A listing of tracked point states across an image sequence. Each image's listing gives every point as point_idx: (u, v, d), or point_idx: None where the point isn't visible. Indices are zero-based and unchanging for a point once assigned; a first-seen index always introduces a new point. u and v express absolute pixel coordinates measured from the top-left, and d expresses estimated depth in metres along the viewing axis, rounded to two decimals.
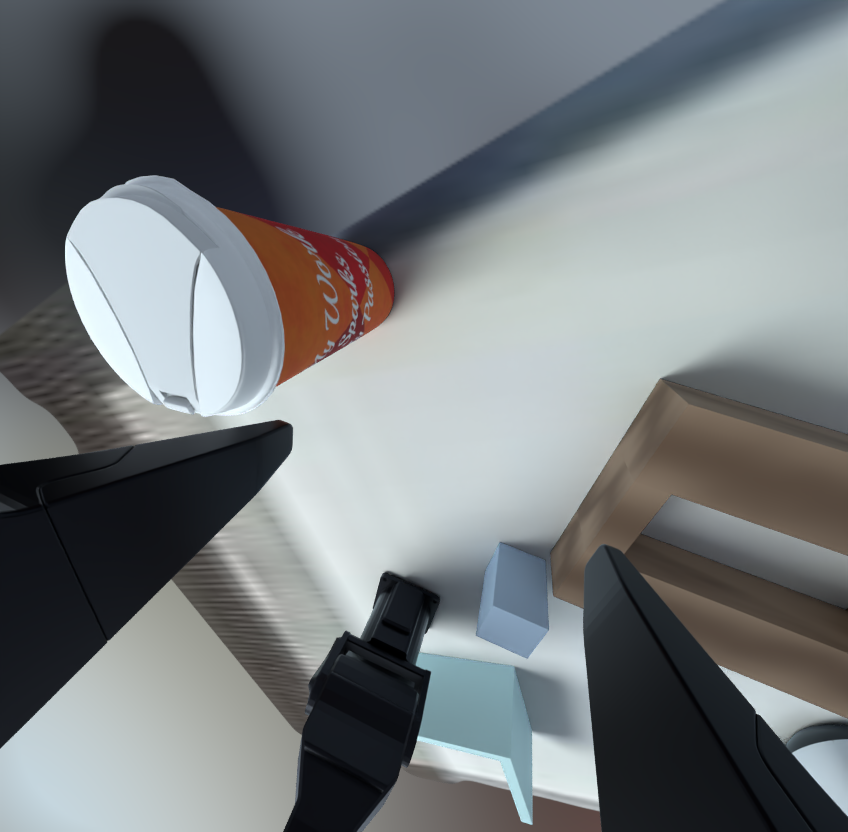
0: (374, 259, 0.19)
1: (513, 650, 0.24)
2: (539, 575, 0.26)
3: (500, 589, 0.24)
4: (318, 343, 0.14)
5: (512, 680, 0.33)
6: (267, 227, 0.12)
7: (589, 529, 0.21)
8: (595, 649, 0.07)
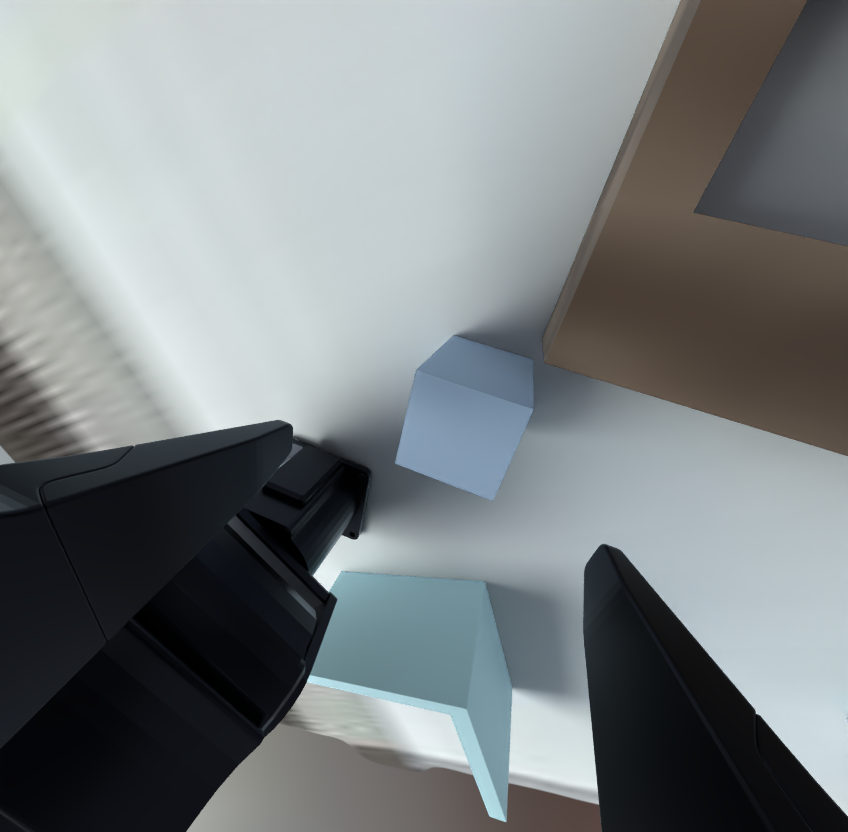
0: None
1: (465, 485, 0.12)
2: (520, 366, 0.14)
3: (439, 362, 0.12)
4: None
5: (480, 598, 0.21)
6: None
7: (625, 162, 0.09)
8: (595, 649, 0.07)
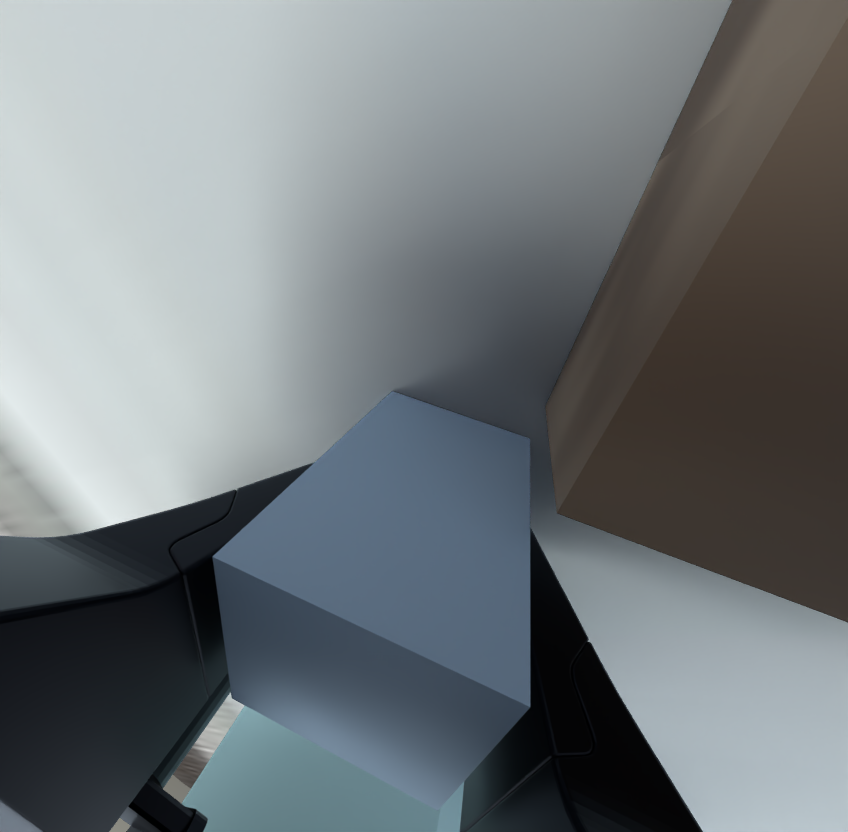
0: None
1: (377, 771, 0.05)
2: (505, 468, 0.07)
3: (313, 494, 0.05)
4: None
5: None
6: None
7: None
8: None
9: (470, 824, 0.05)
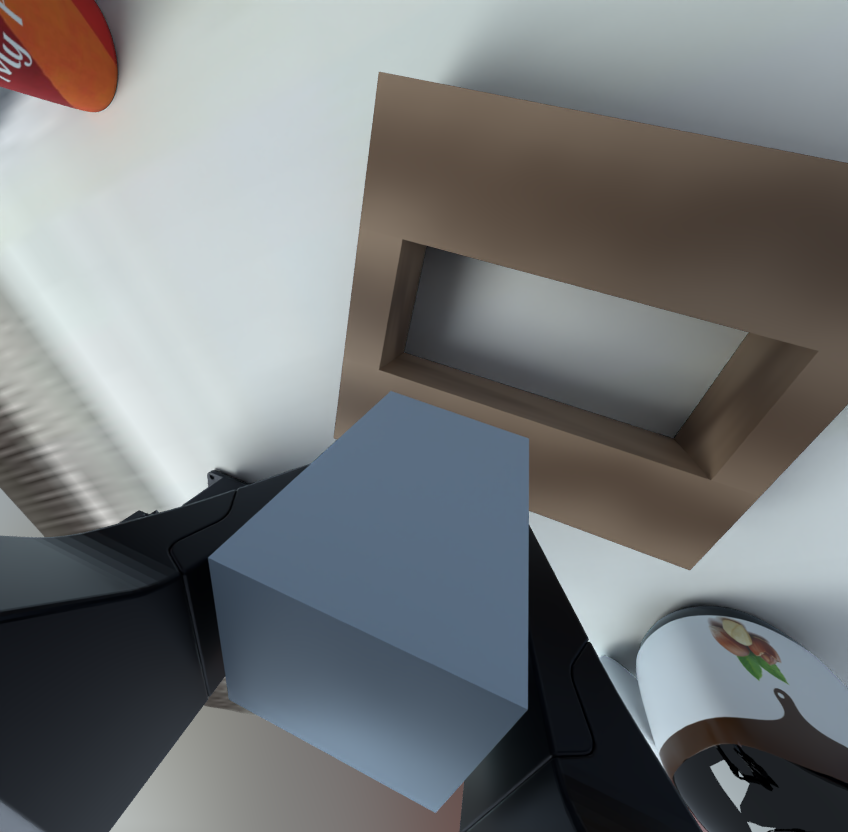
0: None
1: (374, 773, 0.05)
2: (503, 468, 0.07)
3: (311, 494, 0.05)
4: None
5: None
6: None
7: None
8: None
9: (470, 826, 0.05)
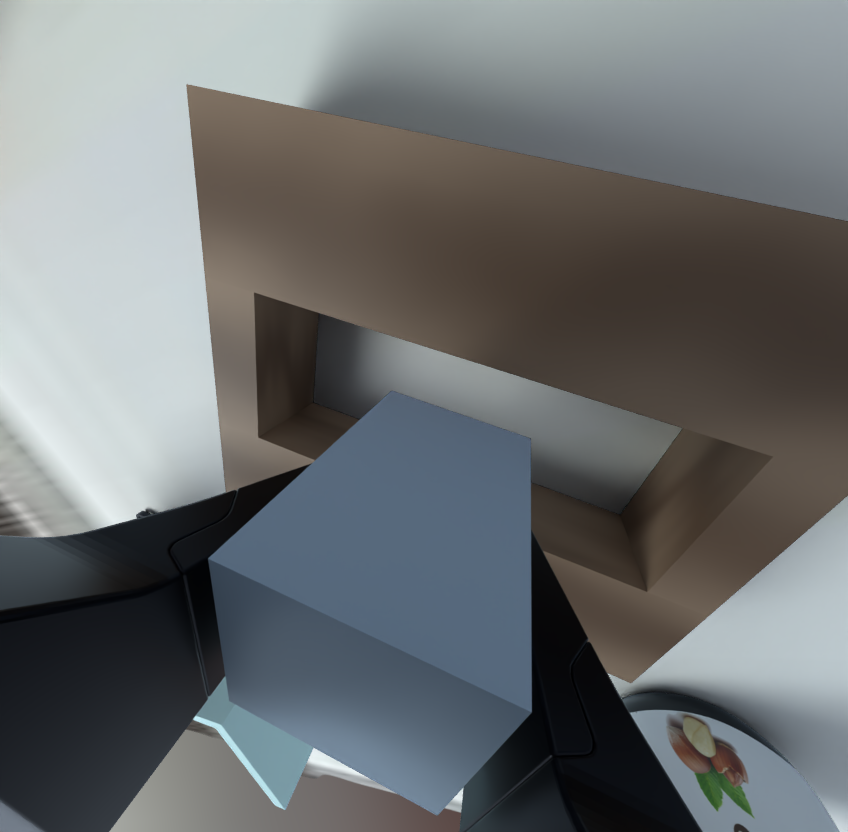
0: None
1: (375, 776, 0.05)
2: (505, 468, 0.07)
3: (312, 495, 0.05)
4: None
5: None
6: None
7: None
8: None
9: (470, 825, 0.05)
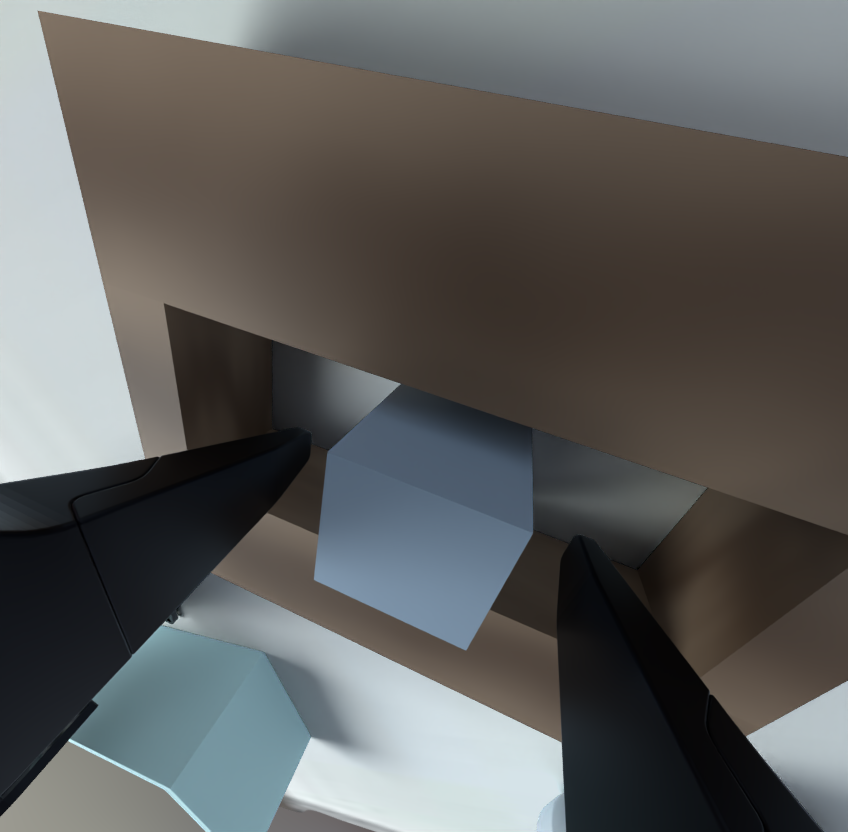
0: None
1: (422, 624, 0.08)
2: None
3: (380, 425, 0.07)
4: None
5: (249, 671, 0.23)
6: None
7: None
8: (566, 636, 0.07)
9: None
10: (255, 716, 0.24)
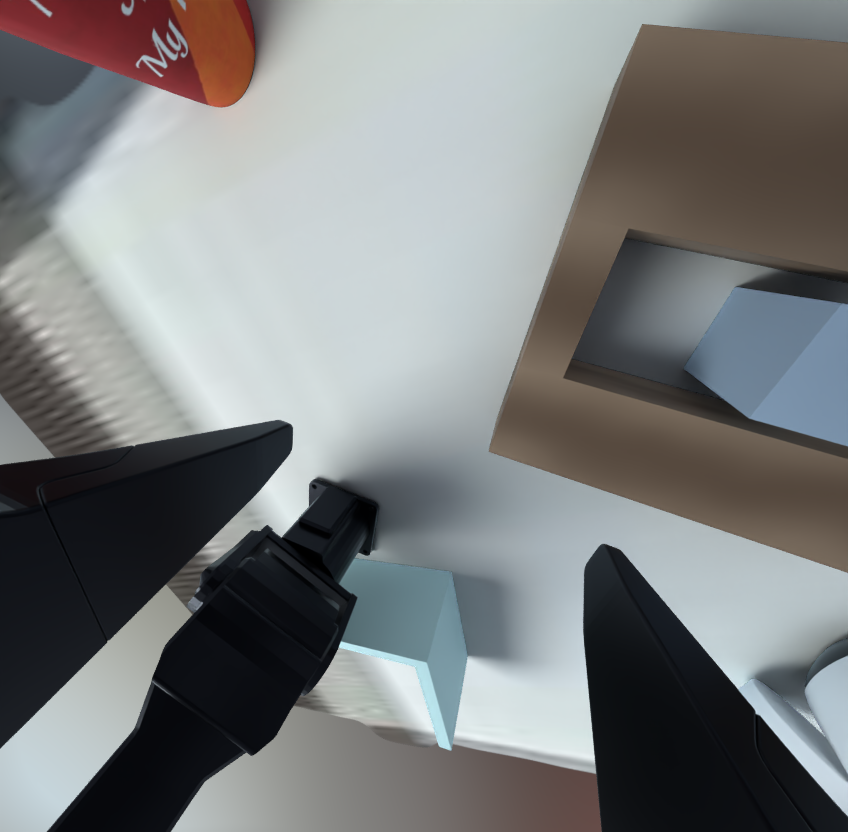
0: None
1: None
2: None
3: None
4: None
5: (446, 585, 0.27)
6: None
7: (527, 340, 0.15)
8: (595, 649, 0.07)
9: None
10: (450, 624, 0.28)
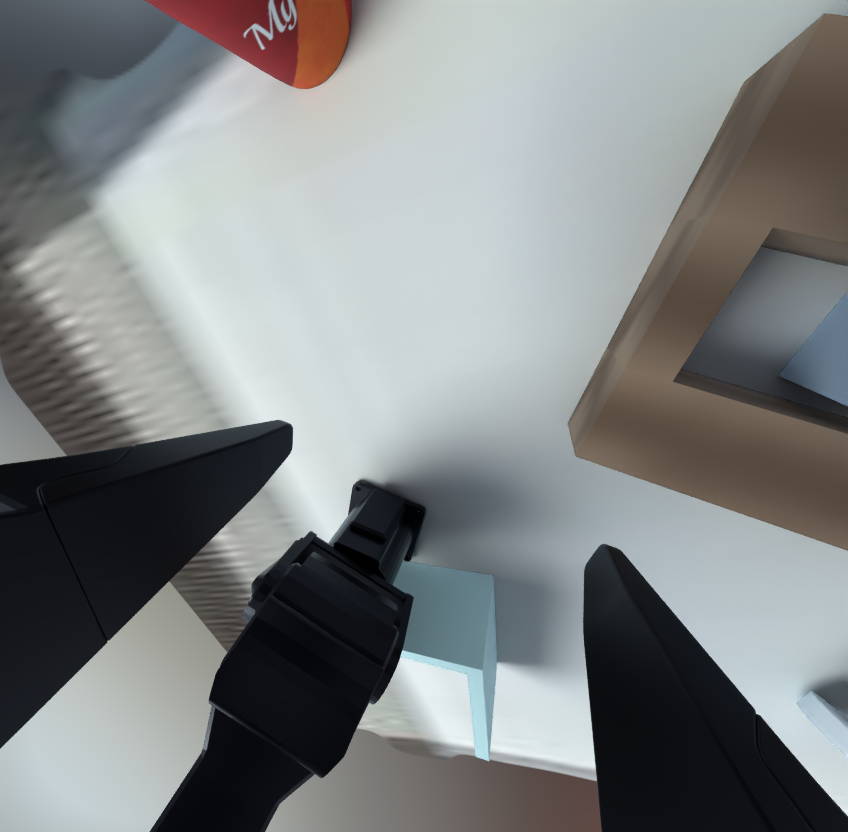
0: None
1: None
2: None
3: None
4: None
5: (490, 589, 0.26)
6: None
7: (630, 342, 0.15)
8: (595, 649, 0.07)
9: None
10: (491, 629, 0.27)
